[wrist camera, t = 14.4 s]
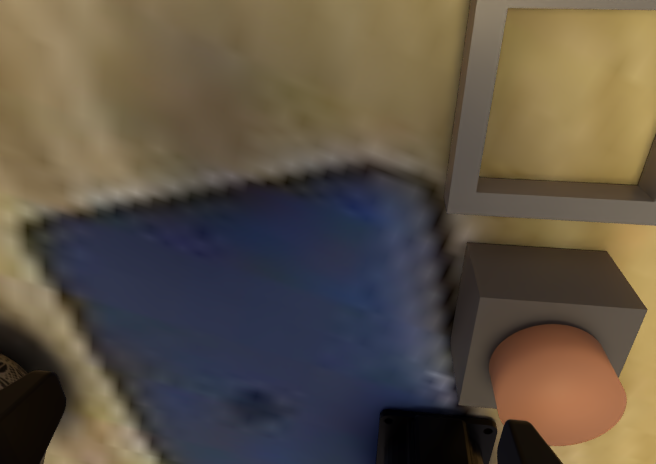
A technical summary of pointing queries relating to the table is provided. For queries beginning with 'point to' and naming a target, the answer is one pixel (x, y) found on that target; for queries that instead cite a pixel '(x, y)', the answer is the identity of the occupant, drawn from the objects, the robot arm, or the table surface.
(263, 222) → the table surface
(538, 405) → the release button
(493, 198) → the collar
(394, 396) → the table surface
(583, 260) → the button housing
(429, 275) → the table surface
